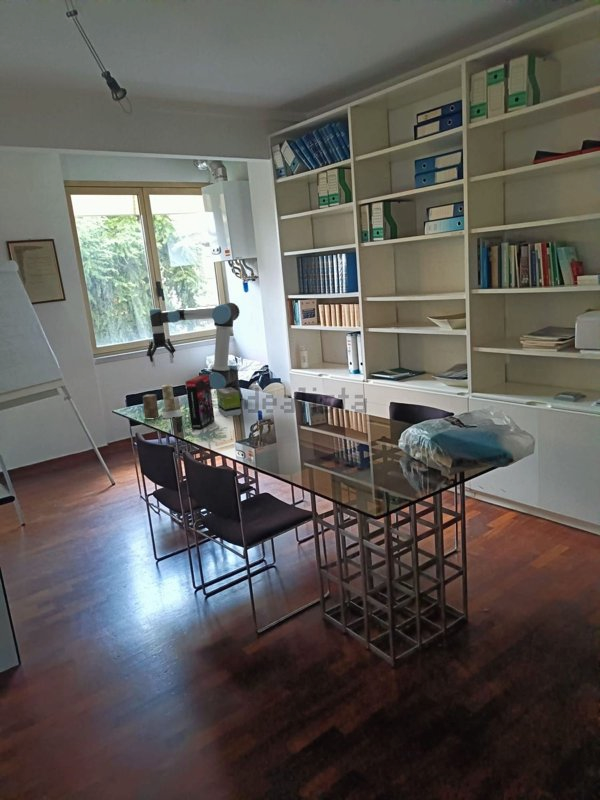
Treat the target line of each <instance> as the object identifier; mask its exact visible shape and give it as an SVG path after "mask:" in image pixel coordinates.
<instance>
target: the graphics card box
mask: <svg viewBox="0 0 600 800" xmlns="http://www.w3.org/2000/svg"><path fill="white" fill-rule="evenodd" d="M185 388H186V389H185V390H186V395H187V403H188V409H189V418H190V425H191V429H192V430H203V429H205V428H206V427H207V426H209V425H211V424H213V423H215V421H216V420H215V413H214V405H213V397H212V389H211V388H212V387H211V386H210V380H209V375H200V374H199V375H198V376H196V377H193V378H191V379H188V380H186V381H185Z"/></svg>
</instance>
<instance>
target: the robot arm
mask: <svg viewBox="0 0 600 800" xmlns="http://www.w3.org/2000/svg"><path fill="white" fill-rule="evenodd" d="M239 316H240V309H239V306H238V305H237V304H236V303H234V302H226V303H220V304H218V305H215V306H206V307H204V306H203V307H190V308H177V309H171V310H164V311H163V310H162V309H161V308H160V307H159V308H151V309H150V310H149V318H150V325H151V331H152V338H153V341H151V340H150V341H149V342H148V343H149V345H148V349H147V352H146V356H147V357H149V361H150V363H151V367H154V368H155V367H156V361H155V357H154V354H155V353H156V351H157V349H158V348H161V347H164V348H165V349H166V350H167V351H168V354H169V361H170V362H169V363H170V364H174V353H175V352H176V349H175V347H174V346H173V344H172V342H171V339H170V338H166V335H165V329H164V324H166V323H169V324H170V323H173V324H174V323H178V322H181V321H191V320H193V321H194V320H209V319H210V320H211V319H212V320H213V322H214V324H213V326H215V328H216V330H215V331H216V332H215V347H214V361H213V364H212V366H211V368H210V370H211V371H210V372H211V373H210V374H209V375H208V376H209V380H210V388H212V389H213V390H215V391H216V390H218V389H223V388H229V387H232V388H234V389H235V390H237V391H239V395H240V399H241V400H243V399H242V398H244V397H243V393H242V391H241V388H240V382H239V370H238V366H237V365H229V354H230V353H229V352H230V337H231V329H232V328H233V326H234V321H236V320H237V319H238V318H239ZM166 343H167V344H166Z"/></svg>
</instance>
